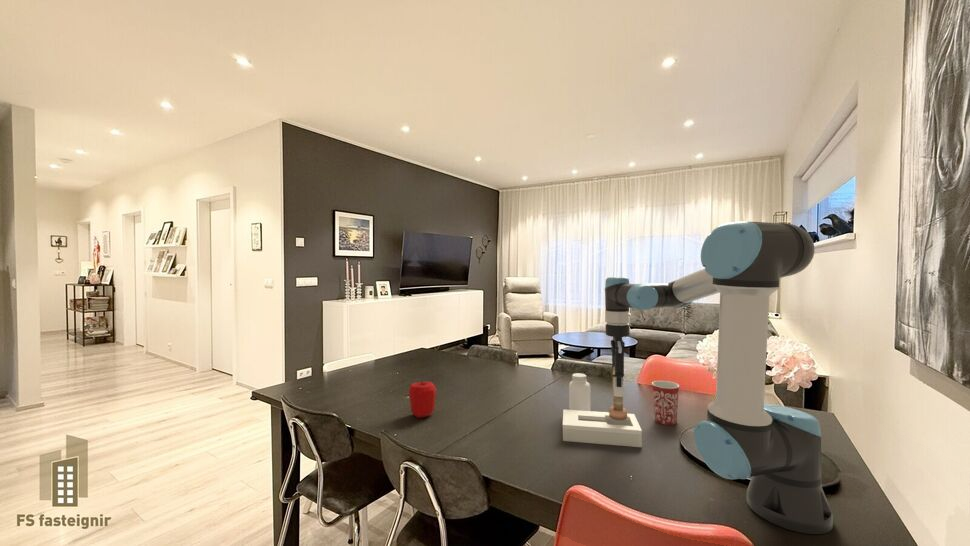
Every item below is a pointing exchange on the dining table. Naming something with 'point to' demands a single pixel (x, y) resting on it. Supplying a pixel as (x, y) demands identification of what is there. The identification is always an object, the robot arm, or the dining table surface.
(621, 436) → the keyhole board
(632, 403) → the dining table surface
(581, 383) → the pill bottle
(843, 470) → the dining table surface
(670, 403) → the mug
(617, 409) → the peg
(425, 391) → the red cylinder
